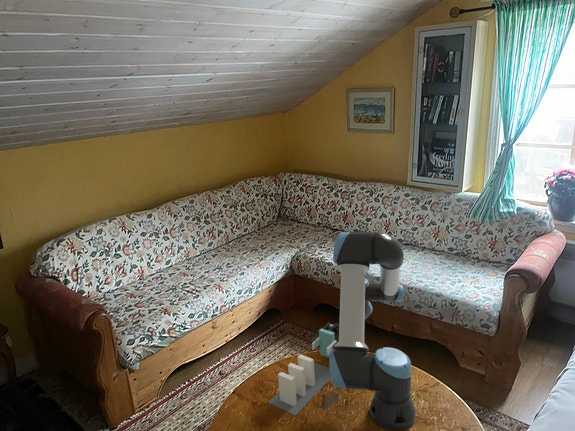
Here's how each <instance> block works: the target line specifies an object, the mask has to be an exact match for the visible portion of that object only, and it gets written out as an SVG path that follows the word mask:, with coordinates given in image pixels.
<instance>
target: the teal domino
mask: <svg viewBox="0 0 575 431" xmlns="http://www.w3.org/2000/svg"><path fill="white" fill-rule="evenodd" d="M318 331H319V339H320V345H319V355H320V356H323V357H325V358H328V359H329V355H327V347H329V346H330V345H331V344H332V343H333V342H334V341H335V340H336V335H335V333H334V332H331V331H328V330H325V329H321V328H320V329H319V330H318ZM333 351H334V350H333Z"/></svg>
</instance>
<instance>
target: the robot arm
mask: <svg viewBox="0 0 575 431" xmlns="http://www.w3.org/2000/svg"><path fill="white" fill-rule="evenodd" d="M404 259H405V255H404V251H403V248H402V246H401V245H400V243H399V242H398V241H397V240H396V239H395V238H393V237H392V236H391V235H389V234H387V233H384V232H381V231H375V232H374V231H373V232H372V231H342V232H341V231H340V232H339V233H338V234H337V235H336V238H335V241H334V246H333V256H332V261H333V263H334V264H336V269H338V271H339V272H340V296H339V297H340V299H339V318H338V320H337V322H335V323H333V324H332V323H331V322H330V321H327V322H326V324H325V325H324V326H322V327H320V329H325V330H328V331H331V332H334V333H335V336H336V335H338V337H337V339H335V341H334V342H333V343H332V344H331V345H330V346H329V347H327V355H329V358H328V359H329V361H328V362H329V368H330V374H331V378H330V379H331V383H332V385H333V386H334V387H335V388H339V389H345V390H360V391H373V392H374V394H373V397H372V399H371V402H370V404H369V415H370V417H371V419H372V420H373V422H374V423H375V424H376V425H377V426H379V427H381V428H384V429H387V430H391V431H401V430H406V429H409V428H410V427H411V426H412V425H413V424H414V423H415V422H416V414H417V413H416V407H415V404H414V402H413V399H412V396H411V392H412V391H411V390H412V389H411V387H412V386H411V385H412V373H413V372H412V362H411V359H410V357H409V356H408V355H407V354H406V353H404V352H403V351H401V350H400V349H397V348H394V347H390V346H389V347H387V346H385V347H384V346H383V347H381V348H378V349H377V350H376V351H375V352H374V353H369V347H368V346H367V344H366V343H365V320H366V319H367V318H368V319H369V317H370V315H371V314H372V313H373V305H372V303H371V302H386V303H388V302H392V303H401V302H403V301H404V285H402V284H400V274H401V267H402V265H403V263H404ZM371 265H379V266H380V267H379V269H380V270H379V272H380V274H379V275H380V278H379V279H380V281H379V282H380V283H370V282H369V280H368V278H366V273H368V271H369V270H370V268H371V267H370V266H371ZM315 334H316V335H315V336H316V337H315V338H314V341H313V342H312V343H311V349H312V350H313V351H314V350H315V349H317V348H318V347H320V339H319V330H317V331H316V333H315ZM333 350H334V351H333Z"/></svg>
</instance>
